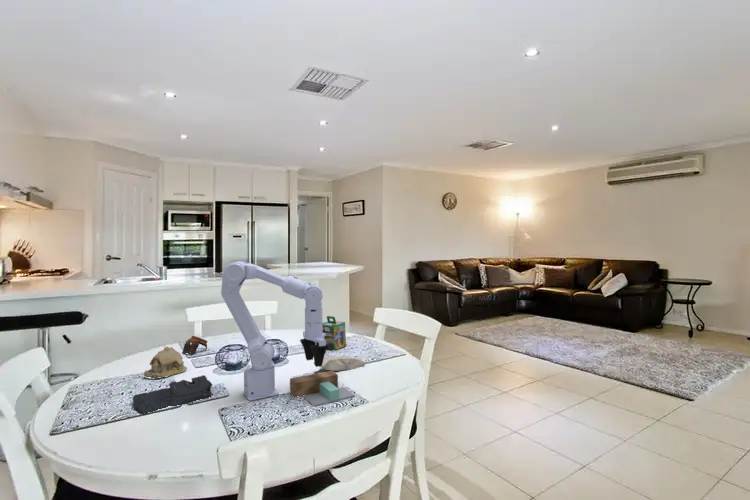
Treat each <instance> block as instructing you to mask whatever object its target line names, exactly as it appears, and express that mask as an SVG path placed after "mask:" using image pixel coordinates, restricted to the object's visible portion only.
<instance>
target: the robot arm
mask: <svg viewBox="0 0 750 500" xmlns="http://www.w3.org/2000/svg"><path fill="white" fill-rule="evenodd" d="M221 278H222V280H221V290H220V291H221V293H220V295H221V298H222V299H223V302H225V304H226V306H227V308H228V310H229V312H230V314H231V316H232V317H233V319H234V322H235V323H236V325H237V326H238V328H239V331H240V332H241V334H242V336H243V338H244V340H245V342H246V344H247V351H248V353H249V355H250V363H251V367H248V368H246V369H244V371H243V394H244V396H245V397H246V398H247V400H248V401H255V400H261V399H264V398H265V399H266V398H269V397H273V396H279V394H280V392H278V390H277V389H276V387H275V386H276V384H275V383H276V382H275V381H276V379H275V377H276V375H275V372H276V371H275V370H276V369H275V368H276V367H275V365H276V364H275V362H274V361H273V360H272V359H273V358H274V355H275V348H274V346H273V345H272V344H271V343H270V342H269V341H268V340H267V339H266V337H265V336H264V335H263V334H262V333H261V331H260V329H259V327H258V325H257V324H256V321H255V319H254V318H253V316H252V313H251V312H250V310H249V308H248V307H247V305H246V303H245V300H244V298H243V297H242V296H241V294H240V291H241V289H242V286H243V285H244V284H243V283H244V282H245V281H246V280H255V279H259V280H261V281H264V282H267V283H270V284H272V285H276V286H278V287H280V288H281V290H282V292H283V293H285V294H287V295H290V296H292V297H294V298H297V299H300V300H303V299H304V301H305V307H304V330H303V331H302V337H303V338H301V339H300V340H299V341H300V343H301V345H302V348H303V351H304V356H305V360H306V361H312V360H313V364H314V363H315V365H314V366H315V367H316V368H318V367H319V366H322V363H323V359H324V358H325V354H326V352H327V351H328V350H327V348H328V344H326V340H325V339H324V336H326V334H324V333H322V323H323V307H322V306H323V303H322V300H323V290H322V288H320V286H318V285H316V283H315V284H314V283H312V282H311V281H305V280H302V279H299V278H298V276H297V275H295V274H294V276H292V275H288V276H286V277H284V276H282V275H280V274H278V273H275V272H273V271H270V270H269V269H267V268H264V267H262V266H259V265H257V264H253V263H251V262H246V261H244V260H238V261H233V262H230V263H229V264H227V265H226V266H225V268H224V269H223V272H222V273H221Z"/></svg>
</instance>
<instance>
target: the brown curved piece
mask: <svg viewBox="0 0 750 500" xmlns="http://www.w3.org/2000/svg"><path fill="white" fill-rule="evenodd" d="M207 343H208V340H206V339H203V338H201V337H198V336H195V335H191V337H190V338H188V339H187V340H186V341H185V343H184V345H183V347H182V348H183V349H182V353H183V354H184V353H189V354H190V353H191V354H195V353H196V352H197V349H198V348H199V346H200V345H201V346H203V347H205V349H206V350H207V349H208V344H207Z"/></svg>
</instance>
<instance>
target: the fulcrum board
mask: <svg viewBox="0 0 750 500" xmlns="http://www.w3.org/2000/svg"><path fill="white" fill-rule="evenodd" d="M355 397H356V395H355V394H354V393H353V392H351V391H349V390H348V389H347V388H346V387H344V386H341V387H338V388H337V387H336V386H334V385H333V384H332V383H330V382H329V381H328V382H323V383H320V392H319V393H315V394H310V395H305V396H303V398H304V399H305V401H307V402H308V401H309V402H310V403H311V404H312V405H313V406H315V407H318V406H323V405H327V404H331V403H335V402H339V401H343V400H346V399H347V400H348V399H350V398H355ZM309 402H308V403H309ZM310 403H309V404H310ZM311 404H310V405H311ZM312 405H311V406H312ZM313 406H312V407H313Z"/></svg>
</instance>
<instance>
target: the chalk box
mask: <svg viewBox="0 0 750 500" xmlns="http://www.w3.org/2000/svg"><path fill="white" fill-rule="evenodd" d="M322 333H324V334H326V336H324V339H325V340H326V344H328V348H327V350H326V351H331V350H336V351H338V350H340V349H342V347H343V348H344V346H345V347H346V346H347V341H346V340H347V339H346V338H347V337H346V322H345V321H338V320H336V317H335V316H331V315H327V316H326V321H324V322H322ZM339 348H340V349H339ZM337 349H338V350H337Z"/></svg>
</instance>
